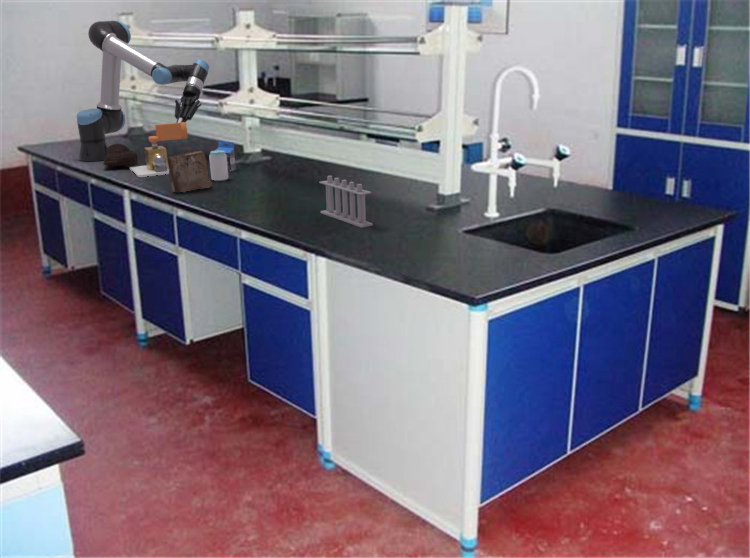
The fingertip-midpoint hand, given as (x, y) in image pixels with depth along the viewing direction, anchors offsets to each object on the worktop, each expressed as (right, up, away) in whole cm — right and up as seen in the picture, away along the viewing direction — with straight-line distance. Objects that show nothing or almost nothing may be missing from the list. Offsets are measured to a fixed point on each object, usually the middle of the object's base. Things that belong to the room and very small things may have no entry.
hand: (177, 131), depth 349 cm
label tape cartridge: (+23, -19, -6) cm, 30 cm away
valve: (-9, -18, -1) cm, 20 cm away
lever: (-3, -4, -3) cm, 6 cm away
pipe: (-28, -14, +8) cm, 32 cm away
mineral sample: (+16, -32, -42) cm, 55 cm away
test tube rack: (+79, -47, -91) cm, 129 cm away
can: (+24, -25, -25) cm, 43 cm away
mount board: (-9, -18, -1) cm, 20 cm away
